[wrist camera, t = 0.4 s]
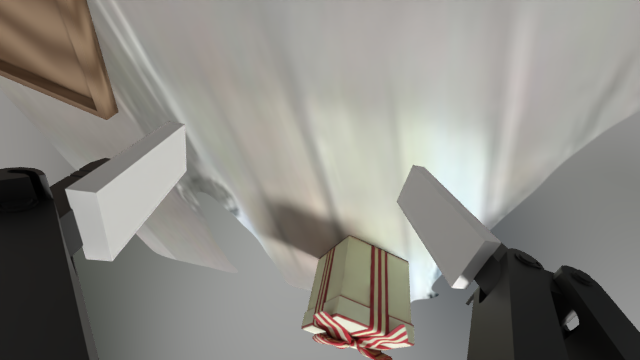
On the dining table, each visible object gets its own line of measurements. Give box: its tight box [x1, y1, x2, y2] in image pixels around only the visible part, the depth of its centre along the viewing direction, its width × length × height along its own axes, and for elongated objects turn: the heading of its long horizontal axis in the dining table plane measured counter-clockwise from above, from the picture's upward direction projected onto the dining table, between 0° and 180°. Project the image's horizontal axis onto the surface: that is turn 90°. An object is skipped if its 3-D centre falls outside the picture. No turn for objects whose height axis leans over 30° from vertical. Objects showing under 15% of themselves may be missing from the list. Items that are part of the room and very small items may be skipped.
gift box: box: [302, 236, 414, 360], centre depth 47 cm, size 17×18×17 cm
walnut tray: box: [0, 0, 118, 120], centre depth 29 cm, size 16×16×2 cm
